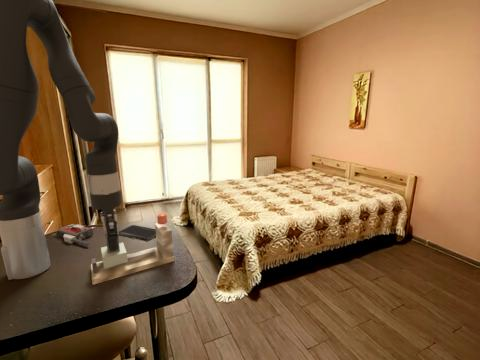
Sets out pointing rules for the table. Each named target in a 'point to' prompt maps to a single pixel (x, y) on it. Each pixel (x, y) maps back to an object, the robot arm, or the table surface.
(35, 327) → the table surface
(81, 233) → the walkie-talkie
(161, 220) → the button
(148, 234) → the phone
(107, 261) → the block
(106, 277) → the rail base
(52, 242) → the table surface
